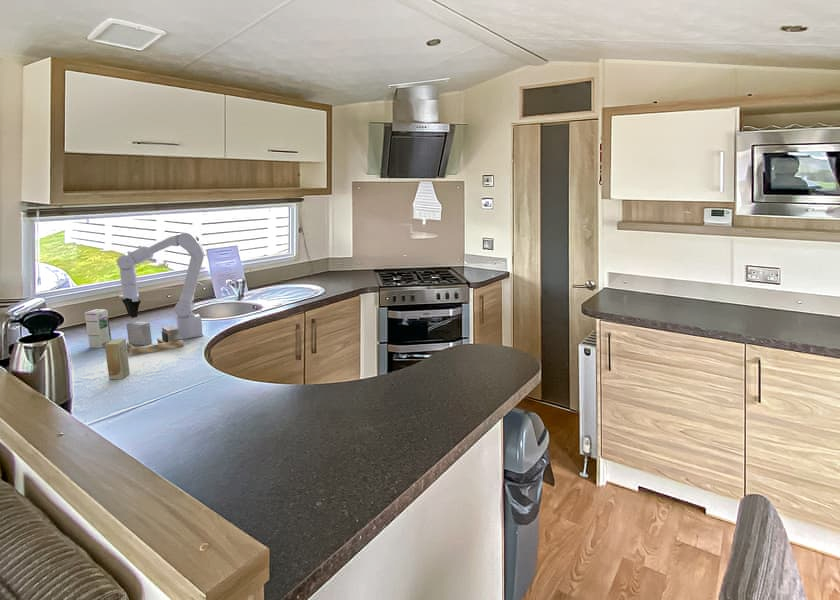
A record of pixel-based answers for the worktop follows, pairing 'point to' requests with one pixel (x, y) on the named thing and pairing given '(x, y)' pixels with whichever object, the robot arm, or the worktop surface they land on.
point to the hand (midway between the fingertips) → (132, 316)
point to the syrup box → (98, 328)
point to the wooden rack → (160, 342)
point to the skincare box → (117, 358)
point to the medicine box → (139, 333)
